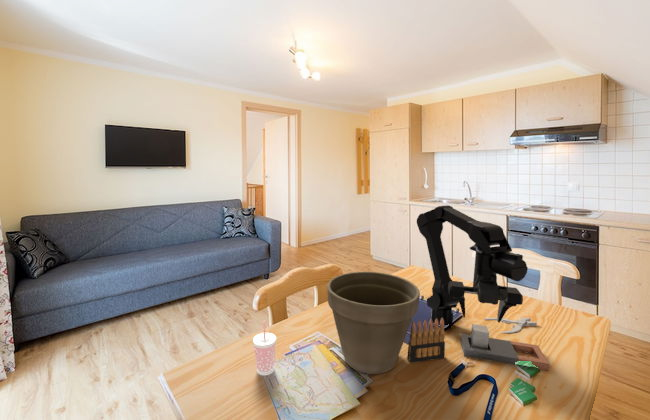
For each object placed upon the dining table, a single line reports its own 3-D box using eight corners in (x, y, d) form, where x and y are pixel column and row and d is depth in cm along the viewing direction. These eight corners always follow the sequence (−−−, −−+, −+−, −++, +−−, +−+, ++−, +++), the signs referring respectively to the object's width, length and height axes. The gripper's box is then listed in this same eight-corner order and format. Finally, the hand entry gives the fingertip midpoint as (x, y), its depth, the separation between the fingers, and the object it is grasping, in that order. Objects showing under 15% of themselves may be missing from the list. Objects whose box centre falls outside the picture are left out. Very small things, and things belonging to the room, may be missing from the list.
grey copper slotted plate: (463, 356, 90) (464, 349, 89) (460, 339, 98) (460, 333, 98) (548, 370, 83) (549, 363, 83) (537, 351, 92) (537, 345, 92)
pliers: (484, 315, 111) (522, 313, 113) (484, 319, 111) (522, 317, 113) (503, 330, 101) (545, 327, 103) (503, 334, 102) (544, 331, 104)
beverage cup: (256, 362, 86) (255, 315, 84) (278, 362, 86) (277, 315, 84) (251, 377, 80) (249, 326, 78) (274, 377, 80) (273, 327, 78)
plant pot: (395, 331, 103) (397, 268, 100) (433, 382, 79) (438, 301, 75) (320, 337, 99) (320, 272, 95) (336, 394, 74) (337, 309, 71)
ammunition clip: (441, 354, 90) (443, 315, 89) (444, 358, 89) (447, 318, 87) (407, 358, 88) (408, 319, 86) (410, 362, 86) (412, 322, 85)
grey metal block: (472, 352, 91) (473, 330, 90) (470, 345, 95) (471, 323, 94) (487, 355, 90) (489, 332, 89) (484, 347, 94) (486, 326, 93)
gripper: (453, 274, 84) (449, 328, 86) (532, 282, 78) (525, 339, 81) (449, 262, 94) (446, 310, 97) (519, 268, 89) (514, 319, 91)
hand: (480, 319), depth 91 cm, fingers open, 9 cm apart
